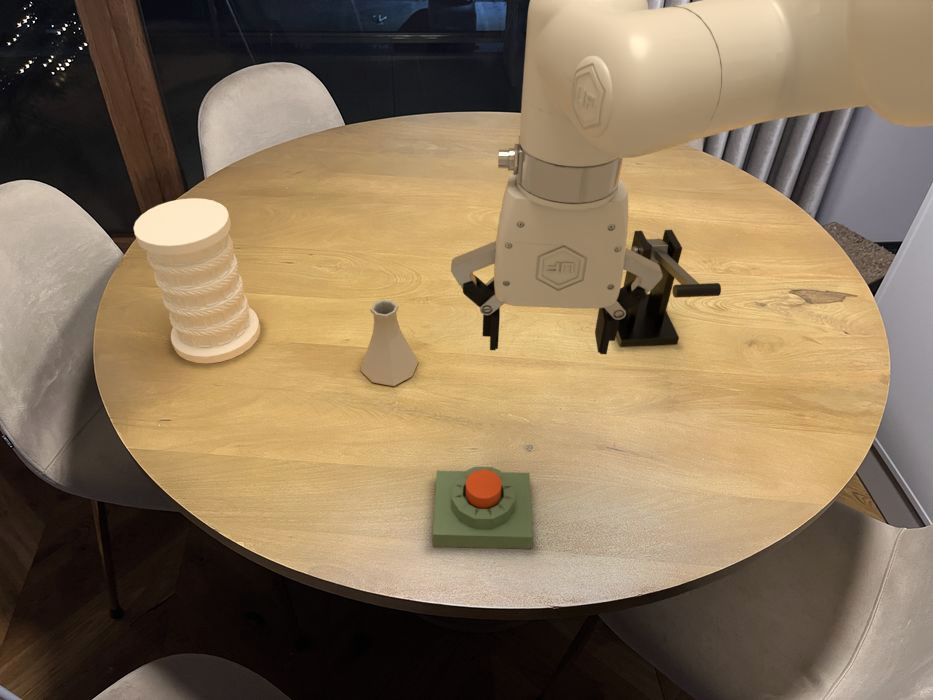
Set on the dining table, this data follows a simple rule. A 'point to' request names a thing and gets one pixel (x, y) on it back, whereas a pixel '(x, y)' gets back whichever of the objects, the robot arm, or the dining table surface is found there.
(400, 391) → the dining table surface
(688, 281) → the lever
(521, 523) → the button block
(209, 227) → the decorative container
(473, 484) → the stop button
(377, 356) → the flask
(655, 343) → the switch bracket
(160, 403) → the dining table surface
